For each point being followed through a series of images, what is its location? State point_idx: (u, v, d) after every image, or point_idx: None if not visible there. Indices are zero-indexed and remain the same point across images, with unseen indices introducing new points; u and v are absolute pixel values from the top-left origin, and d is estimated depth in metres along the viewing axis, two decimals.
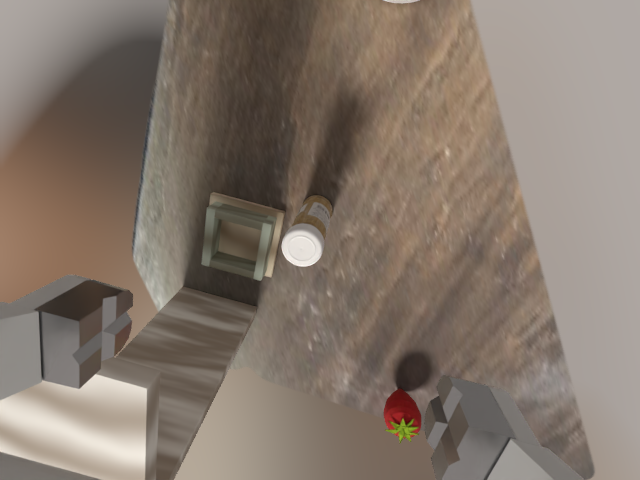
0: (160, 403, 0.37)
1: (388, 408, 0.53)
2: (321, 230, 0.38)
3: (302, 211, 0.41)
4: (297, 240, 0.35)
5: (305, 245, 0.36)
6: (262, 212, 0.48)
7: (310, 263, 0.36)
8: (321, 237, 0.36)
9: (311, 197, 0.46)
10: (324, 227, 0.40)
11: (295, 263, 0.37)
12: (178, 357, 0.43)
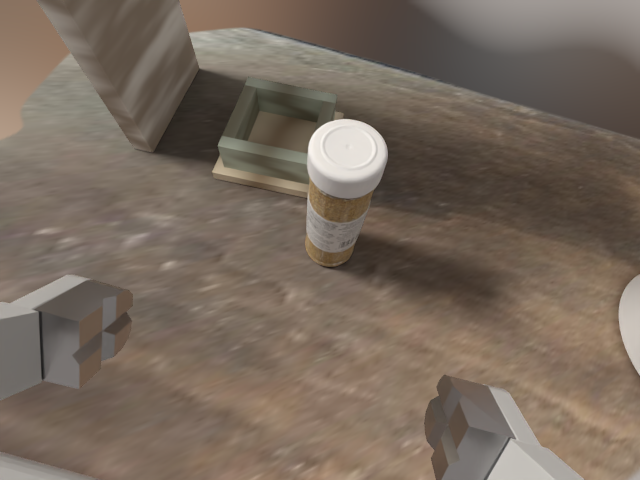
0: None
1: None
2: (361, 203, 0.20)
3: None
4: (365, 141, 0.19)
5: (357, 153, 0.18)
6: None
7: (318, 160, 0.18)
8: (366, 188, 0.19)
9: None
10: (352, 218, 0.22)
11: (315, 136, 0.19)
12: None
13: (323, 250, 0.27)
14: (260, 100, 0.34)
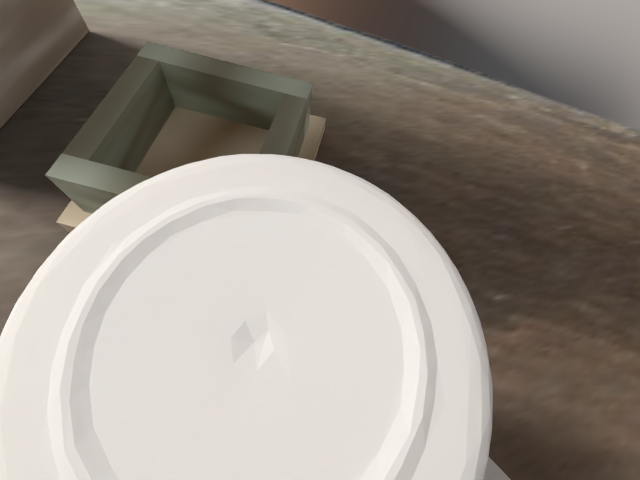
0: None
1: None
2: None
3: None
4: (364, 300, 0.03)
5: (305, 399, 0.03)
6: None
7: (1, 478, 0.02)
8: None
9: None
10: None
11: (64, 259, 0.03)
12: None
13: None
14: (172, 87, 0.19)
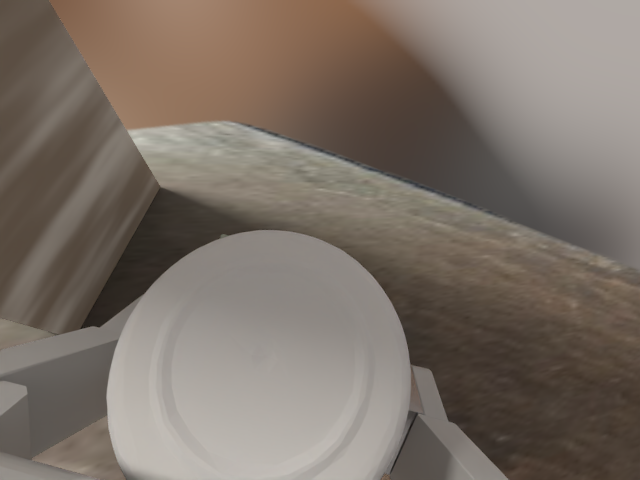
0: None
1: None
2: None
3: None
4: (331, 327, 0.05)
5: (296, 389, 0.05)
6: None
7: (129, 439, 0.04)
8: None
9: None
10: None
11: (146, 310, 0.05)
12: None
13: None
14: None
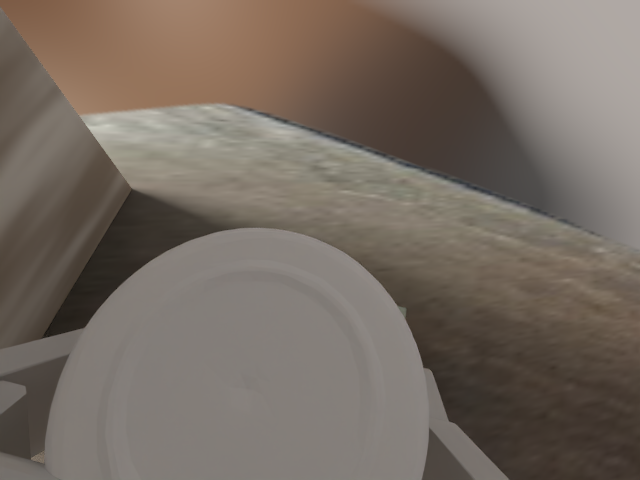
0: None
1: None
2: None
3: None
4: (330, 350, 0.04)
5: (286, 432, 0.04)
6: None
7: None
8: None
9: None
10: None
11: (98, 330, 0.04)
12: None
13: None
14: None
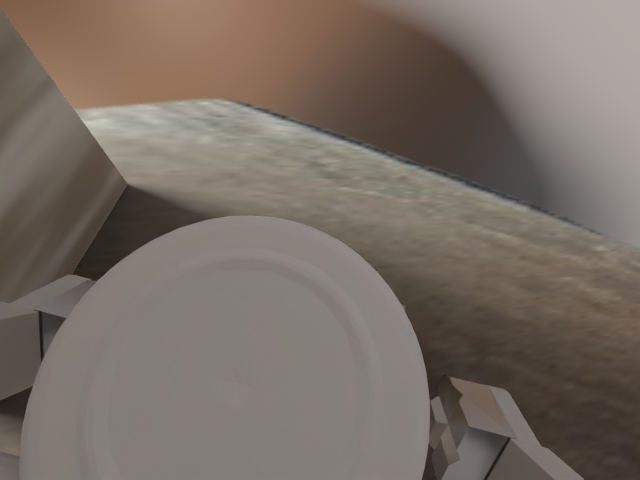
0: None
1: None
2: None
3: None
4: (326, 343, 0.04)
5: (278, 428, 0.03)
6: None
7: None
8: None
9: None
10: None
11: (80, 321, 0.04)
12: None
13: None
14: None
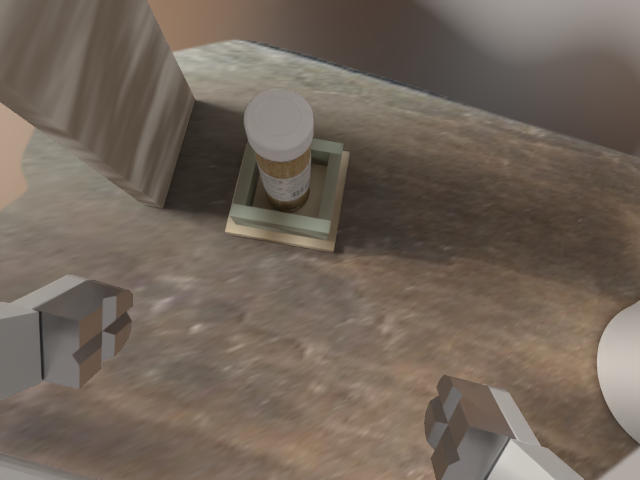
0: None
1: None
2: (298, 162, 0.24)
3: None
4: (293, 109, 0.21)
5: (286, 122, 0.21)
6: (331, 220, 0.34)
7: (252, 132, 0.21)
8: (297, 152, 0.22)
9: None
10: (294, 174, 0.25)
11: (249, 108, 0.21)
12: (101, 50, 0.22)
13: (279, 200, 0.30)
14: None
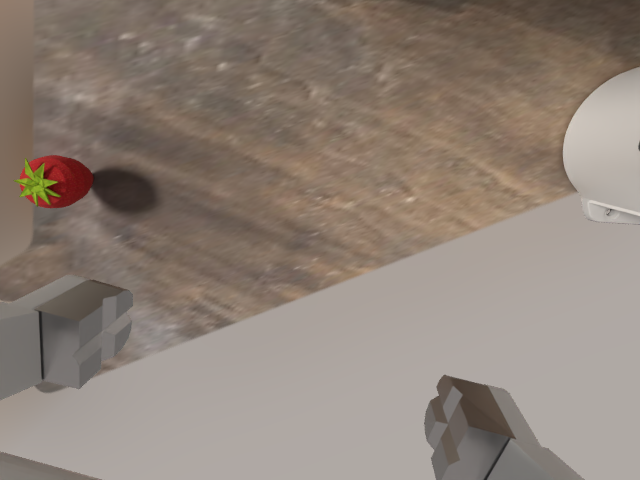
0: None
1: (64, 161, 0.37)
2: None
3: None
4: None
5: None
6: None
7: None
8: None
9: None
10: None
11: None
12: None
13: None
14: None
